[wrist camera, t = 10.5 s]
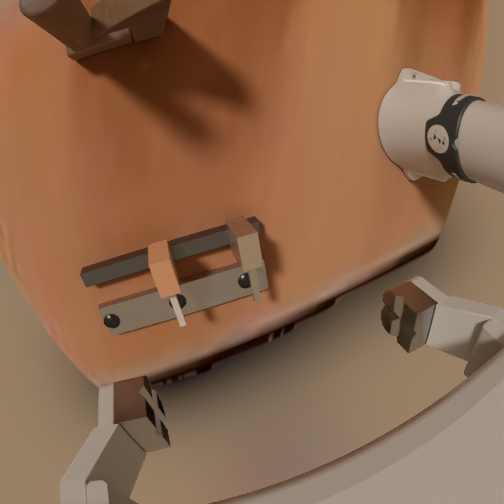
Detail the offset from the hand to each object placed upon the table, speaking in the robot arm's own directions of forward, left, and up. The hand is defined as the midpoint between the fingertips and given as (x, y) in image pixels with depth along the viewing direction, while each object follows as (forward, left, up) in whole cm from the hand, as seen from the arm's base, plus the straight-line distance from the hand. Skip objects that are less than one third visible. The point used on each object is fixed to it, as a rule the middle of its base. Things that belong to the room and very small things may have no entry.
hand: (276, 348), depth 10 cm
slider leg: (+5, +13, -29) cm, 32 cm away
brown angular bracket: (+4, -18, -31) cm, 36 cm away
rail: (+4, +13, -31) cm, 34 cm away
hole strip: (+4, +17, -31) cm, 36 cm away
